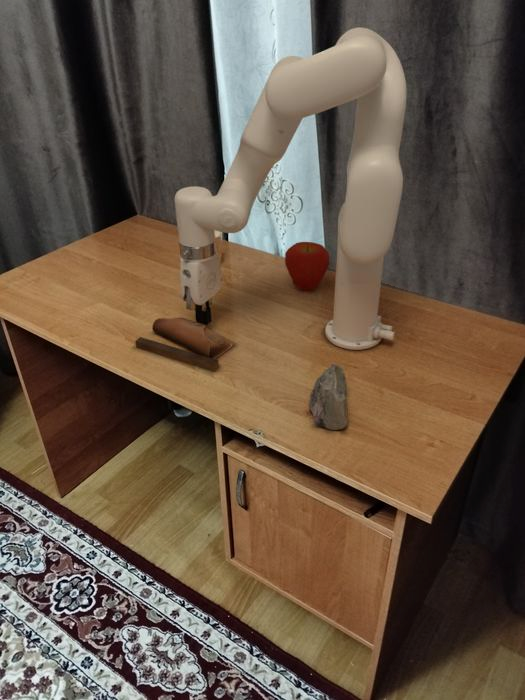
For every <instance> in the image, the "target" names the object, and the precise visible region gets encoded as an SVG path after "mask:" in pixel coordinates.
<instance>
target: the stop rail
mask: <svg viewBox="0 0 525 700" xmlns="http://www.w3.org/2000/svg"><path fill="white" fill-rule="evenodd" d="M134 343H135V347H136V349H139V350H142V351H146V352H150V353H152V354H155V355H159V356H163V357H166V358H169V359H172V360H176V361H179V362H181V363H185V364H189V365H190V366H191V365H192V366H195V367H198V368H200V369H201V368H202V369H204V370H208V371H211V372H214V373H215V372H216V371H217V370H218V369H219V368H220V365H219V364H220V363H219V360H218V359H217V358H216V359H213V358H209V357H206V356H204V355H202V354H200V353H197V352H196V353H195V352H193V351H189V350H186V349H182V348H179V347H176V346H172V345H168V344H166V343H162V342H158V341H155V340H152V339H149V338H145V337H142V336H139V337H138V338H137V339H136V340H134Z"/></svg>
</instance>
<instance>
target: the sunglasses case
mask: <svg viewBox="0 0 525 700" xmlns="http://www.w3.org/2000/svg"><path fill="white" fill-rule="evenodd" d="M151 329H152V331H153V332H154V333H155V334H158V335H161V336H163V337H166V338H167V339H170V340H172V341H174V342H176V343H178V344H180V345H182V346H184V347H187V348H188V349H190V350H192V351H194V352H196V353H197V354H199V355H202V356H206V357H209V358H213V359H216V360H217V359H218V358H220V357H221V356H223V355H224V354H225V353H227V352H228V351H229V350H230V349H232V348H233V347H234V342H233V341H232V340H230V339H228V338H227V337H225V336H223V335H221V334H219V333H218V332H216V331H214V330H212V329H210V328H207V327H206V325H204V324H201V323H198V322H196V320H195V321H194V320H192V319H188V318H185V317H182V316H181V317H174V318H169V317H166V318H165V317H162V318H161V317H160V318H157V319H155V320H154V321H153V324H152V327H151Z"/></svg>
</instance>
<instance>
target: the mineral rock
mask: <svg viewBox="0 0 525 700" xmlns="http://www.w3.org/2000/svg"><path fill="white" fill-rule="evenodd" d="M347 387H348V384H347V378H346V374H345V371H344V369H343V367H342V366H341V365H337V364H331V365H330V366H329V367H328V368H327V369H325V370H324V371H323V372H322V373H321V375H320V376H318V378H316V381H315V383H314V385H313V387H312V388H313V389H312V391H311V392H310V395H309V396H310V397H309V401H308V407H309V409H310V411H311V414H312V417H313V423H315V426H317V427H319V428H325V429H327V430H330V431H338V430H343V429H345V428H346V427H347V426H348V424H349V423H348V404H347V399H346V395H347Z"/></svg>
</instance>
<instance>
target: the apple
mask: <svg viewBox="0 0 525 700" xmlns="http://www.w3.org/2000/svg"><path fill="white" fill-rule="evenodd" d="M284 265H285V267H286V269H287V272H288V274H289V276H290V279H291V281H292V282H293V284H294V285H295V286H296V287H297V288H298V289H300V290H303V291H313V290H314V289H316V288H317V287H319V285H320V284H321V282H322V280H323V278H324V277H325V276H326V273H327V271H328V268H329V266H330V253H329V251H328V250H327V248H325V247H324V245H322V244H320V243H317V242H312V241H300V242H296V243H294V244H293V245H291V246H290V247H289V248H288V249H287V250H286V252H285V253H284Z"/></svg>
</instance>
